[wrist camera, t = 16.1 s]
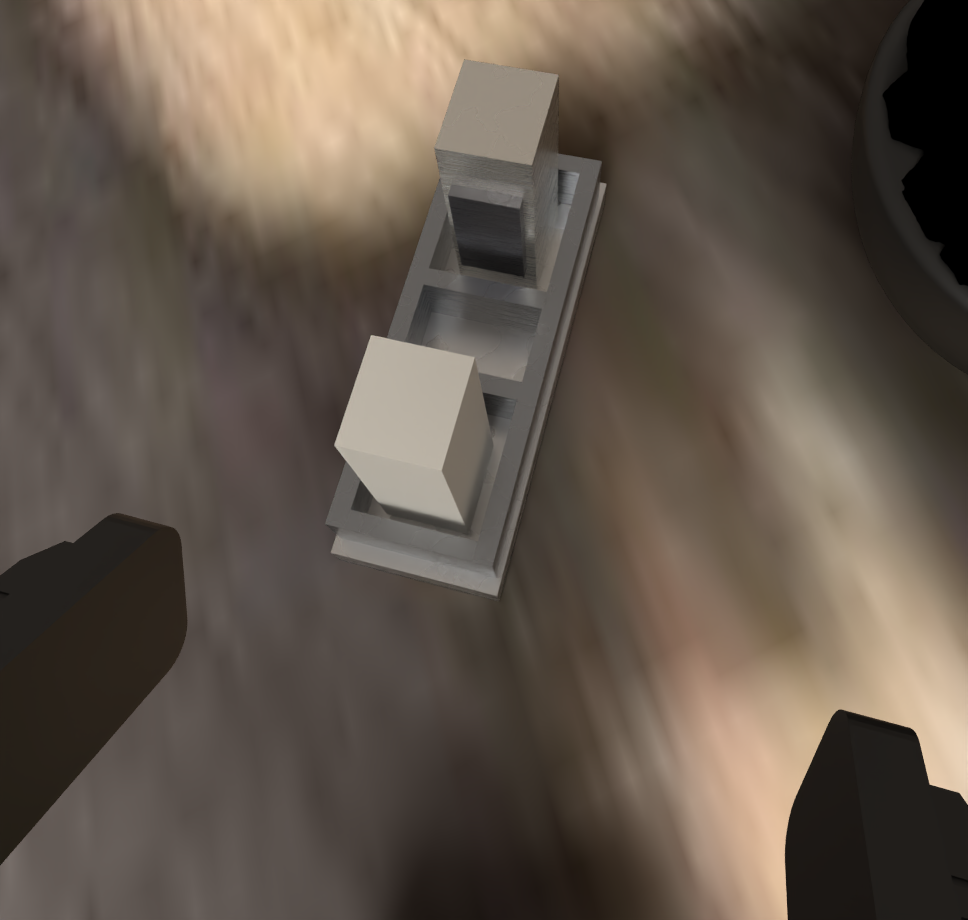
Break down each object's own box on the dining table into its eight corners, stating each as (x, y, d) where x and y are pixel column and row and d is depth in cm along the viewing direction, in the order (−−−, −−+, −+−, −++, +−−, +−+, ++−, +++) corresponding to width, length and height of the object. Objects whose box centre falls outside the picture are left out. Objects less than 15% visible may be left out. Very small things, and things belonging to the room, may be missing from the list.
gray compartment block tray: (463, 176, 42) (435, 5, 32) (604, 202, 41) (620, 33, 31) (339, 559, 37) (259, 495, 27) (499, 601, 36) (477, 550, 26)
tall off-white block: (416, 416, 37) (375, 321, 28) (496, 435, 36) (479, 343, 28) (387, 514, 36) (334, 445, 27) (469, 534, 35) (441, 470, 27)
